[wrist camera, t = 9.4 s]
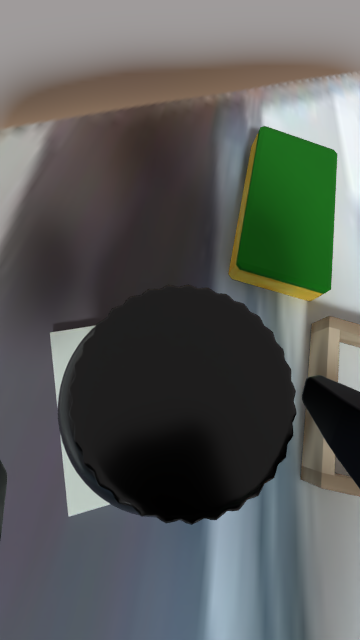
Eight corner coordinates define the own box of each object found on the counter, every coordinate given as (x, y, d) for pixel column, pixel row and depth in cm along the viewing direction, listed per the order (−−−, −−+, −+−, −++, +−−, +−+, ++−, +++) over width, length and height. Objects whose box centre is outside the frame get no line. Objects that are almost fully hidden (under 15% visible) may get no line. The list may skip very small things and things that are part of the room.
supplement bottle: (220, 375, 18) (375, 327, 7) (176, 484, 16) (296, 682, 5) (125, 326, 18) (124, 196, 7) (66, 431, 16) (-88, 499, 4)
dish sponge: (320, 172, 27) (338, 150, 24) (311, 304, 22) (332, 292, 20) (249, 148, 26) (261, 123, 24) (225, 280, 22) (237, 265, 19)
